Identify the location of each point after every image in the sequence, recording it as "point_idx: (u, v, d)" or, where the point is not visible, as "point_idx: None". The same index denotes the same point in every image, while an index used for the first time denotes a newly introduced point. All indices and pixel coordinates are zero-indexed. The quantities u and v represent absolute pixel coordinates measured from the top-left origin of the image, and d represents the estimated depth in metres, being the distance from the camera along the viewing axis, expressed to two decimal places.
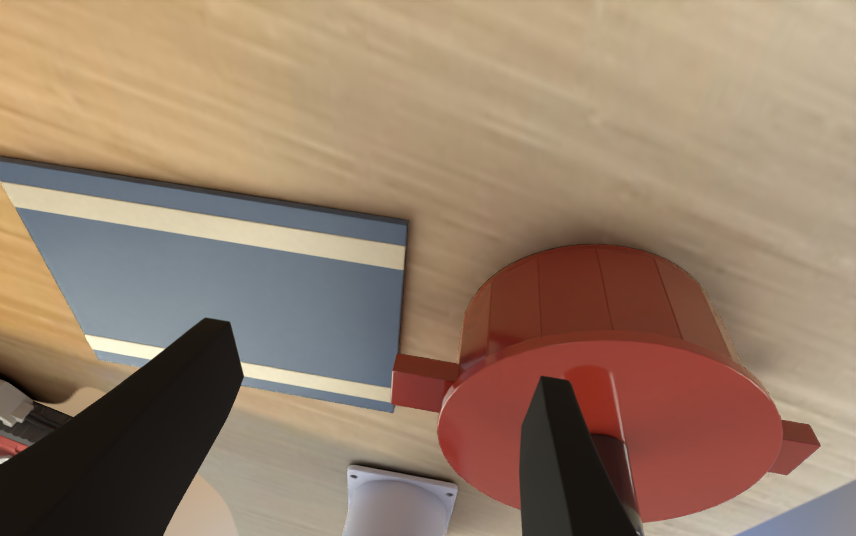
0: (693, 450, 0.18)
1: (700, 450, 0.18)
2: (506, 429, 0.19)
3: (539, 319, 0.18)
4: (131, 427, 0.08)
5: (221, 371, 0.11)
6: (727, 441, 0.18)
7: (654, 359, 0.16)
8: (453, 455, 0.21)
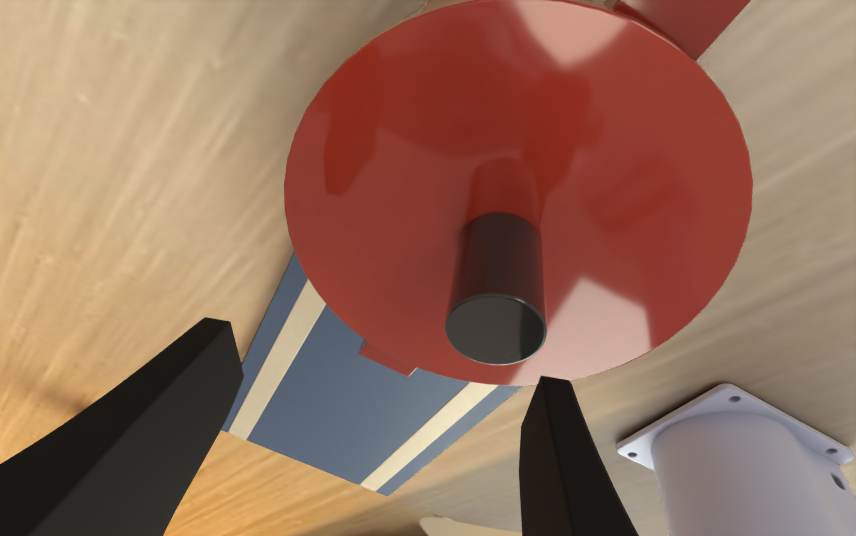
0: (537, 134, 0.12)
1: (540, 124, 0.11)
2: (428, 314, 0.16)
3: None
4: (131, 428, 0.08)
5: (221, 371, 0.11)
6: (525, 84, 0.11)
7: (320, 144, 0.13)
8: (468, 374, 0.18)
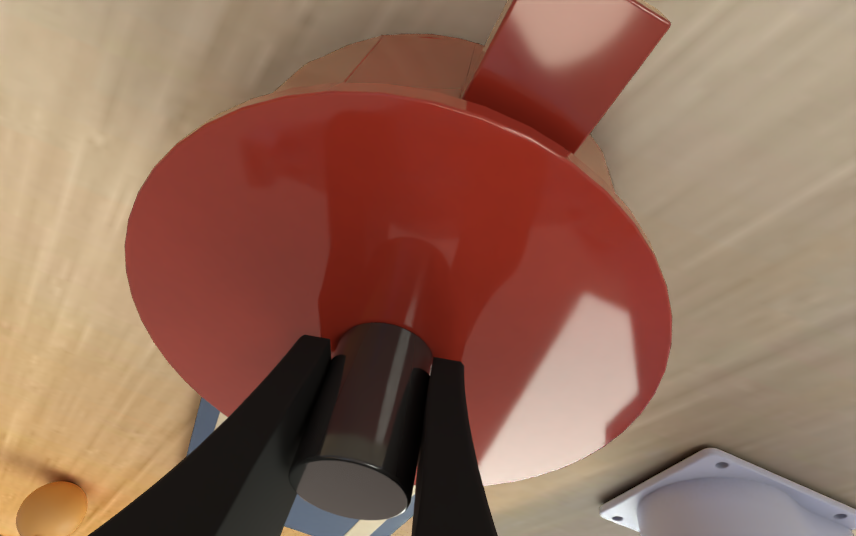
0: (394, 240, 0.09)
1: (395, 230, 0.09)
2: None
3: None
4: (263, 453, 0.08)
5: None
6: (365, 188, 0.09)
7: (155, 255, 0.11)
8: None
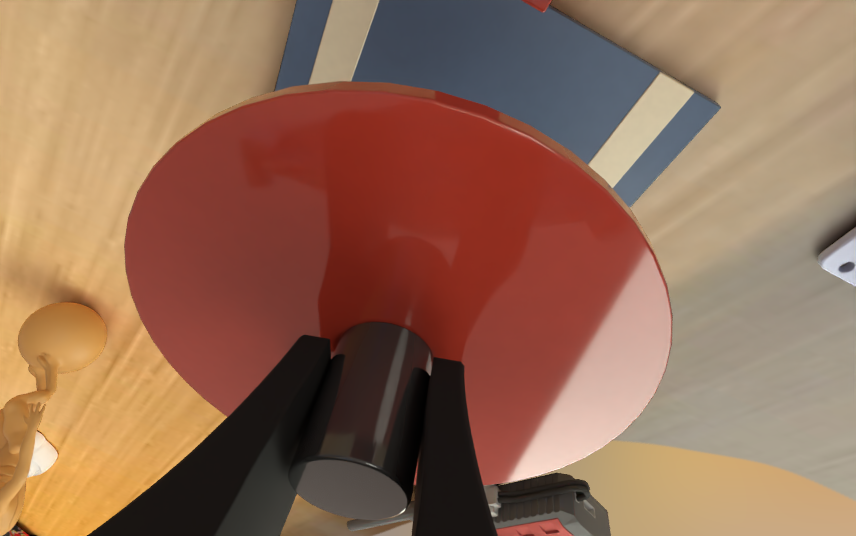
0: (394, 239, 0.09)
1: (394, 229, 0.09)
2: None
3: None
4: (262, 453, 0.08)
5: None
6: (365, 187, 0.09)
7: (155, 254, 0.11)
8: None
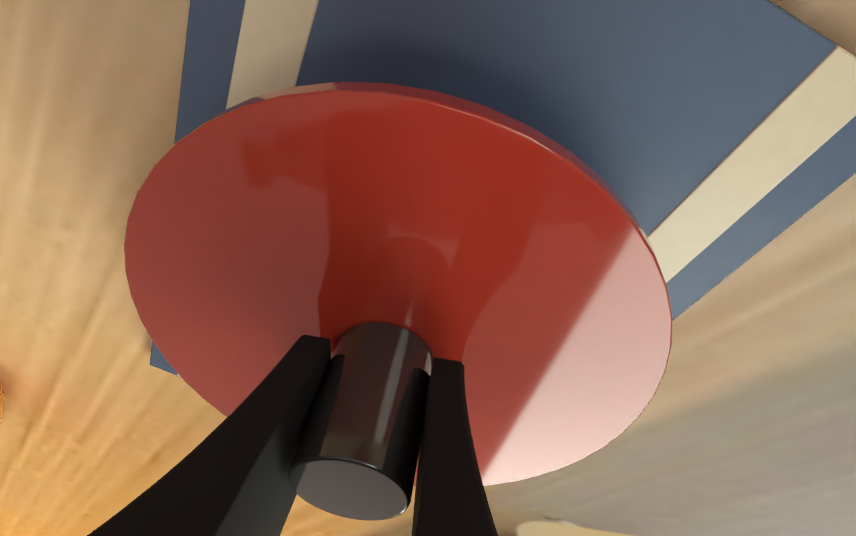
0: (394, 240, 0.09)
1: (394, 230, 0.09)
2: None
3: None
4: (261, 453, 0.08)
5: None
6: (365, 187, 0.09)
7: (154, 255, 0.11)
8: None
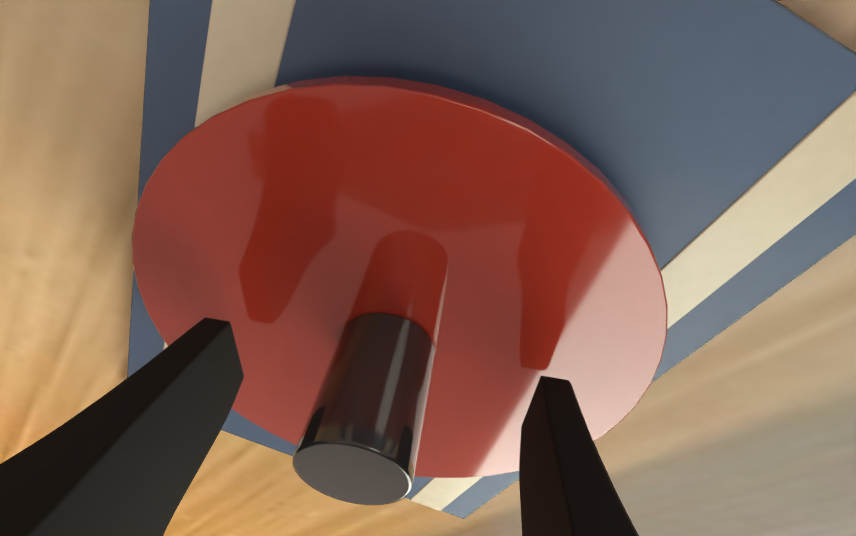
0: (396, 231, 0.10)
1: (396, 221, 0.10)
2: None
3: None
4: (131, 427, 0.08)
5: (221, 371, 0.11)
6: (368, 179, 0.09)
7: (161, 247, 0.11)
8: None
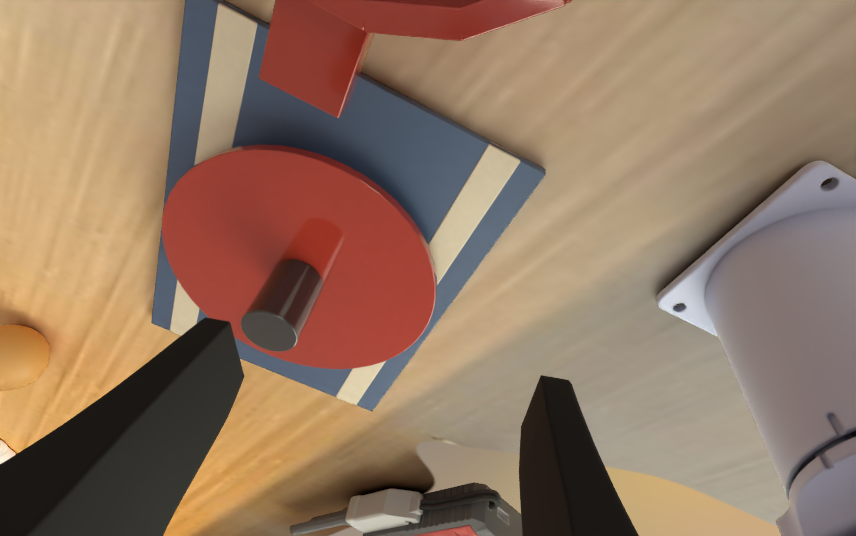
0: (292, 215, 0.20)
1: (291, 210, 0.20)
2: None
3: None
4: (131, 428, 0.08)
5: (221, 371, 0.11)
6: (275, 190, 0.19)
7: (177, 224, 0.21)
8: (313, 362, 0.26)
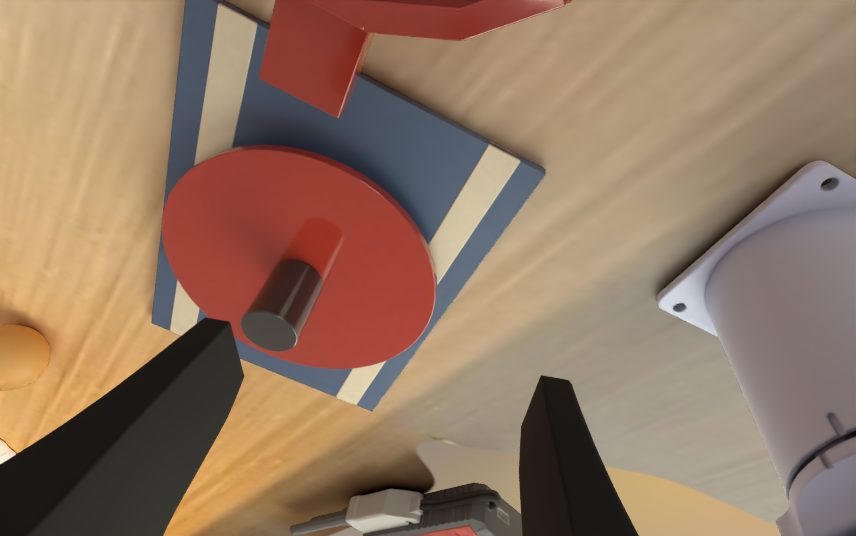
0: (292, 215, 0.20)
1: (291, 210, 0.20)
2: None
3: None
4: (131, 428, 0.08)
5: (221, 371, 0.11)
6: (275, 190, 0.19)
7: (177, 224, 0.21)
8: (313, 362, 0.26)
